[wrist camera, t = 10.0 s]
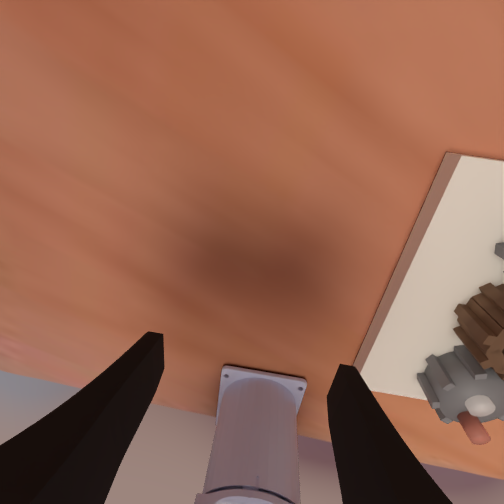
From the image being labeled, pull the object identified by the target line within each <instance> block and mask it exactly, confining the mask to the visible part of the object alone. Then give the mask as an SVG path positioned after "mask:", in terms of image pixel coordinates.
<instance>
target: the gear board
mask: <svg viewBox="0 0 504 504" xmlns="http://www.w3.org/2000/svg"><path fill="white" fill-rule="evenodd" d="M488 283H492V284H493V285H494V286H495V287H496V286H498V285H501V284H504V160H498V159H491V158H484V157H477V156H470V155H464V154H457V153H450V152H446V154H445V156H444V159H443V161H442V163H441V165H440V168H439V170H438V172H437V175H436V177H435V179H434V181H433V184H432V186H431V188H430V191H429V193H428V195H427V197H426V200H425V202H424V204H423V206H422V209H421V211H420V213H419V216H418V218H417V220H416V222H415V225H414V227H413V229H412V232H411V234H410V236H409V238H408V241H407V243H406V245H405V248H404V250H403V252H402V254H401V257H400V259H399V261H398V264H397V266H396V268H395V270H394V273H393V275H392V277H391V280H390V282H389V284H388V286H387V289H386V291H385V293H384V296H383V298H382V300H381V302H380V305H379V307H378V309H377V312H376V314H375V316H374V318H373V321H372V323H371V325H370V327H369V330H368V332H367V334H366V337H365V339H364V341H363V343H362V346H361V348H360V350H359V353H358V355H357V357H356V359H355V362H354V364H353V366H355V367H356V368H357V370H358V371H359V373H360V375H361V376H362V378H363V379H364V381H365V383H366V384H367V386H368V388H369V389H370V390H371V391H377V392H382V393H388V394H394V395H400V396H406V397H411V398H417V399H423V400H428V402H429V404H430V406H431V407H432V409H435V411H436V412H437V414H438V416H439V418H440V420H441V421H443V422H445V423H447V424H449V423H450V422H452V421H456V422H460V424H461V425H462V427H463V429H464V431H465V432H466V434H467V436H468V437H469V439H470V441H471V442H472V443H473V444H476V445H482V444H486V443H488V442H489V441H490V440H491V438H490V436H489V434H488V433H487V431H486V430H485V428H484V427H483V425H482V424H481V423H482V422H487V421H491V420H494V419H497V418H498V419H500V420H502V421H504V380H502V379H501V378H500V377H499V376H498V375H497V373H496V372H495V371H494V370H493V369H492V367H490V368H487V369H483V368H482V367H481V365H480V364H479V363H478V362H477V360H476V359H475V358H474V357H473V355H472V354H471V353H470V352H469V350H468V349H467V348H466V346H465V345H464V344H463V343H462V341H461V340H460V339H459V338H458V336H457V335H456V334H455V332H454V330H453V328H455V327H458V326H460V325H459V323H458V321H457V318H458V316H457V315H456V313H455V312H454V310H455V309H456V307H457V305H458V304H465V305H466V304H467V302H468V301H469V299H470V298H472V296H475V295H477V294H479V293H481V291H480V289H479V287H481V286H483V285H485V284H488Z"/></svg>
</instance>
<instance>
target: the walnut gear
mask: <svg viewBox="0 0 504 504" xmlns="http://www.w3.org/2000/svg"><path fill="white" fill-rule="evenodd" d="M479 289H480V291H481V293H479V294H477V295H475V296H472V298H470V299H469V301H468V302H467V304H466V305H465V304H458V305H457V307H456V309H455V310H454V312H455V313H456V315H457V316H458V318H457V321H458V323H459V325H460V326H458V327H455V328H453V330H454V332H455V334H456V335H457V336H458V338H459V339H460V340H461V341H462V343H463V344H464V345H465V346H466V348H467V349H468V350H469V352H470V353H471V354H472V355H473V357H474V358H475V359H476V360H477V362H478V363H479V364H480V365H481V367H482V368H483V369H487V368H490V367H492V369H493V370H494V371H495V372H496V373H497V375H498V376H499V377H500V378H501V379H502V380H504V284H501V285H498V286H496V287H495V286H494V285H493V284H492V283H488V284H485V285H483V286H481V287H479Z"/></svg>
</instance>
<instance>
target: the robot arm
mask: <svg viewBox="0 0 504 504" xmlns="http://www.w3.org/2000/svg"><path fill="white" fill-rule="evenodd" d="M163 371H164V343H163V334H161V333H155V332H147V333H146V334H145V335H143V336H142V337H141V338H140V339H139V340H138V341H137V342H136V343H135V344H134V345H133V346H132V347H131V348H130V349H129V350H127V351H126V352H125V353H124V354H123V355H122V356H121V357H120V358H119V359H117V360H116V361H115V362H114V363H113V364H112V365H111V366H109V367H108V368H107V369H106V370H105V371H104V372H102V373H101V374H100V375H99V376H98V377H96V378H95V379H94V380H93V381H91V382H90V383H89V384H88V385H86V386H85V387H84V388H83V389H81V390H80V391H79V392H78V393H76V394H75V395H74V396H72V397H71V398H70V399H69V400H67V401H66V402H64V403H63V404H62V405H60V406H59V407H58V408H56V409H55V410H53V411H52V412H50V413H49V414H48V415H46V416H45V417H43V418H42V419H40V420H39V421H37V422H36V423H35V424H33V425H31V426H30V427H28V428H27V429H25V430H24V431H22V432H21V433H19V434H18V435H16V436H14V437H13V438H11V439H10V440H8V441H6V442H5V443H3V444H2V445H0V504H104V503H105V500H106V498H107V495H108V493H109V490H110V488H111V485H112V483H113V480H114V478H115V476H116V473H117V471H118V468H119V466H120V464H121V462H122V459H123V457H124V455H125V453H126V451H127V449H128V447H129V445H130V443H131V441H132V439H133V437H134V435H135V433H136V431H137V429H138V427H139V425H140V423H141V421H142V419H143V417H144V415H145V413H146V411H147V409H148V406H149V405H150V403H151V401H152V399H153V397H154V395H155V392H156V390H157V387H158V384H159V382H160V379H161V376H162V373H163ZM306 387H307V381H306V380H305V379H303V378H297V377H291V376H285V375H280V374H274V373H268V372H262V371H256V370H251V369H245V368H239V367H233V366H223V368H222V371H221V380H220V389H219V398H218V407H217V416H216V431H215V435H214V440H213V445H212V450H211V454H210V459H209V464H208V469H207V474H206V479H205V483H204V489H203V493H202V494H200V493H198V494H197V495H196V499H195V503H194V504H301V502H300V482H299V462H298V442H297V420H296V416H297V413H298V410H299V407H300V404H301V402H302V399H303V396H304V393H305V390H306ZM327 407H328V420H329V428H330V434H331V440H332V445H333V450H334V456H335V462H336V467H337V472H338V478H339V483H340V489H341V494H342V501H343V504H452V502H451V501H450V500H449V499H448V497H447V496H446V495H445V494H444V493H443V492H442V490H441V489H440V488H439V487H438V485H437V484H436V483H435V482H434V480H433V479H432V478H431V477H430V475H429V474H428V473H427V472H426V470H425V469H424V468H423V466H422V465H421V464H420V462H419V461H418V460H417V458H416V457H415V456H414V454H413V453H412V452H411V450H410V449H409V448H408V446H407V445H406V443H405V442H404V441H403V439H402V438H401V436H400V435H399V433H398V432H397V431H396V429H395V428H394V426H393V425H392V423H391V422H390V420H389V419H388V417H387V416H386V414H385V413H384V411H383V410H382V408H381V407H380V405H379V403H378V402H377V400H376V399H375V397H374V396H373V394H372V392H371V391H370V389H369V388H368V386H367V384H366V383H365V381H364V379H363V378H362V376H361V375H360V373H359V371H358V370H357V368H356V367H355V366H349V365H343V364H340V365H339V368H338V370H337V373H336V375H335V378H334V380H333V383H332V385H331V388H330V390H329V392H328V395H327Z"/></svg>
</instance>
